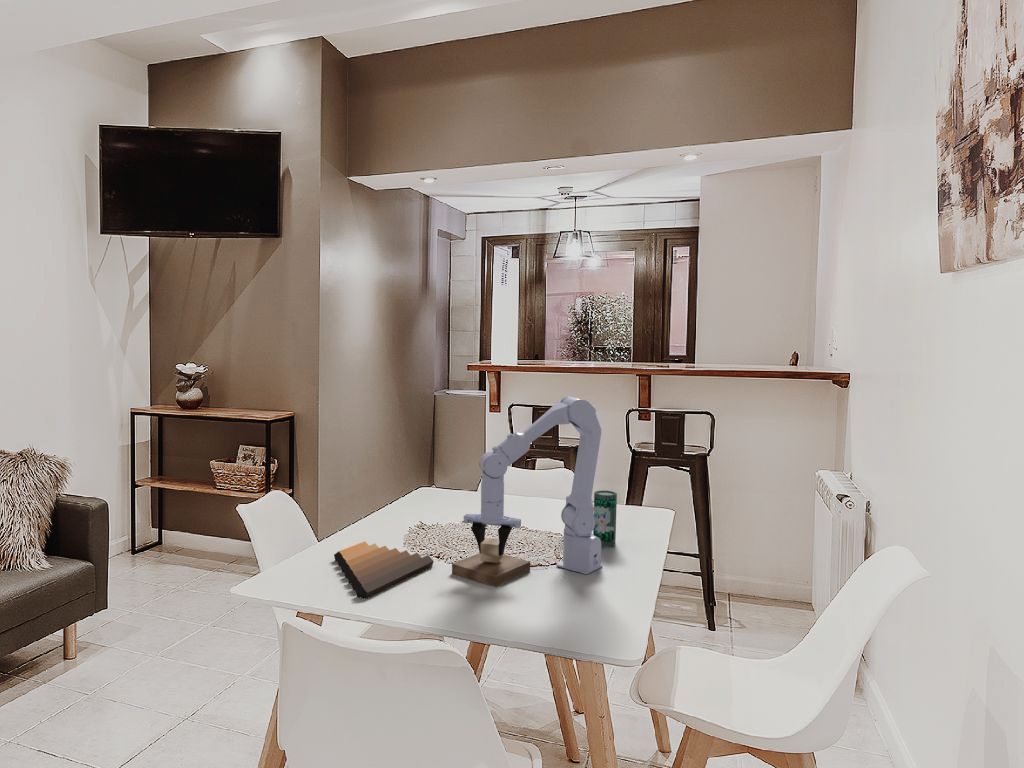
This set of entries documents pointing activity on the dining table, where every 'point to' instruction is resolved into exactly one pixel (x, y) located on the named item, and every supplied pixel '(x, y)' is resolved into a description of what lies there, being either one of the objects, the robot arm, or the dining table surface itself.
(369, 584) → the pan flute
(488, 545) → the maple block
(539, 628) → the dining table surface
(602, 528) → the can
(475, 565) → the walnut base
